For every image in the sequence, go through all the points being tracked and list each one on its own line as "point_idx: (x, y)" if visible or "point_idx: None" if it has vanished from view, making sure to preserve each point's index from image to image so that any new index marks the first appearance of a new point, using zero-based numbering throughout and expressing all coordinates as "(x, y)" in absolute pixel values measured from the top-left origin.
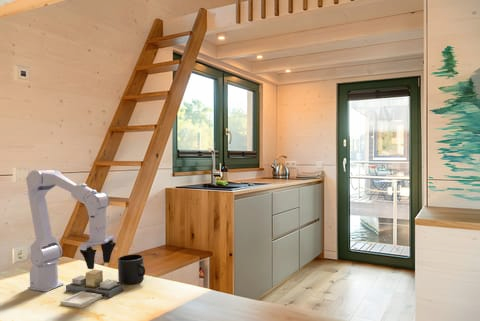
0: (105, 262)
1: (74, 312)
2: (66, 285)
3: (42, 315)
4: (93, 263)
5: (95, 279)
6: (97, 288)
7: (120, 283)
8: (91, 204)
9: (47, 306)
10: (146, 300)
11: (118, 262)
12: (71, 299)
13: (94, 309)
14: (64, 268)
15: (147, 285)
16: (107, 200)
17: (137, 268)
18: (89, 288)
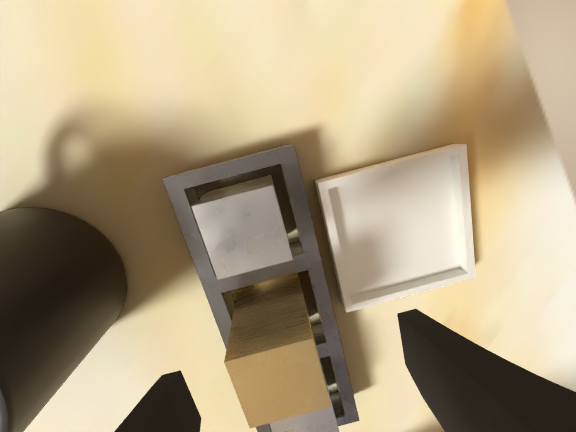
0: (192, 402)
1: (498, 126)
2: (357, 418)
3: (571, 221)
4: (448, 342)
5: (296, 312)
6: (297, 260)
7: (126, 283)
8: None
9: (498, 296)
10: None
11: (31, 407)
12: (414, 276)
13: (432, 67)
14: None
15: (12, 118)
16: None
17: None
18: (321, 296)
